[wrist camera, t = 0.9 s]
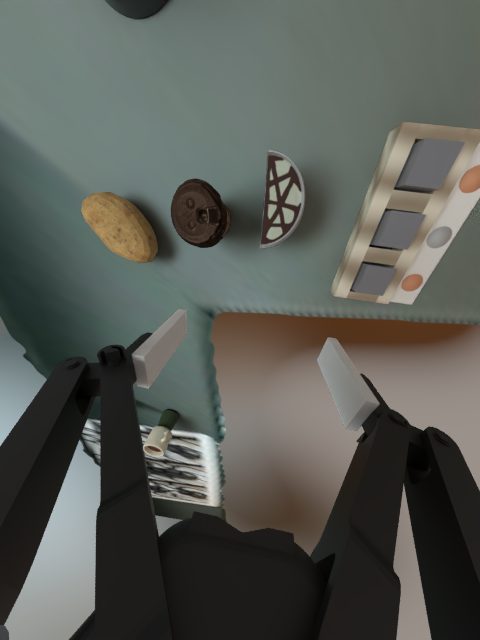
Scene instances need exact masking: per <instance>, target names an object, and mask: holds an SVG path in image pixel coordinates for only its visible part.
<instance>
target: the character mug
mask: <svg viewBox="0 0 480 640" xmlns="http://www.w3.org/2000/svg"><path fill="white" fill-rule="evenodd" d="M178 418H179V415H178V414H177V413H175V412H173V411H170V410H165V411H163V414H162V416H161V418H160V421H159V424H158V426H155V427H154V428H153V430H152V431H151V433H150V435H149V437H148V439H147V440H146V442H145V444H144V446H143V449H144V452H145V453H147V454H149V455H151V456H155V457H161V456H163V455H164V453H165V451H166V448H167V446H168V443H169V441H170V439H171V437H172V433H171V430H172V429H173V427H174V425H175V424H176V422H177V420H178Z"/></svg>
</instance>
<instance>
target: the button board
mask: <svg viewBox="0 0 480 640" xmlns="http://www.w3.org/2000/svg"><path fill="white" fill-rule="evenodd" d="M424 138H433V139H442V140H452V141H461V142H465V143H464V145H463V147H462V149H461V151H460V153H459V155H458V156H457V158H456V160H455V162H454V164H453V166H452V168H451V170H450V171H449V173H448V175H447V177H446V179H445V181H444V183H443V184H442V186H441V188H440V189H438V190H434V191H429V192H425V193H416V192H408V191H400V190H394V187H395V185H396V183H397V180H398V178H399V176H400V174H401V171H402V169H403V167H404V164H405V162H406V160H407V157H408V155H409V153H410V150H411V148H412V146H413V144H415V143H417V142H419V141H421V140H422V139H424ZM479 142H480V130H478V129H469V128H459V127H449V126H440V125H430V124H421V123H411V122H403V123H401V124H400V125H399V126H397V127H396V128H395V129H393V130H392V131H391V132H390V133H389V136H388V138H387V141H386V144H385V146H384V149H383V152H382V154H381V157H380V160H379V162H378V165H377V168H376V170H375V173H374V175H373V178H372V181H371V183H370V186H369V189H368V191H367V194H366V197H365V199H364V202H363V205H362V207H361V210H360V212H359V215H358V218H357V220H356V223H355V226H354V228H353V231H352V234H351V236H350V239H349V242H348V244H347V247H346V249H345V252H344V255H343V257H342V260H341V263H340V265H339V268H338V271H337V273H336V276H335V279H334V281H333V284H332V286H331V289H330V293H331V294H333V295H334V296H336V297H343V298H350V299H356V300H363V301H370V302H376V303H383V304H388V303H389V302H390V300H391V298H392V296H393V294H394V293H395V291H396V289H397V287H398V286H399V284H400V282H401V280H402V279H403V277H404V275H405V273H406V271H407V270H408V268H409V266H410V264H411V263H412V261H413V259H414V257H415V256H416V254H417V252H418V250H419V248H420V247H421V245H422V243H423V241H424V240H425V238H426V236H427V234H428V233H429V231H430V229H431V227H432V225H433V224H434V222H435V220H436V218H437V217H438V215H439V213H440V211H441V210H442V208H443V206H444V204H445V202H446V201H447V199H448V197H449V195H450V194H451V192H452V190H453V188H454V187H455V185H456V183H457V181H458V179H459V178H460V176H461V174H462V172H463V171H464V169H465V167H466V165H467V164H468V162H469V160H470V158H471V156H472V155H473V153H474V151H475V149H476V148H477V146H478V144H479ZM392 210H393V211H401V212H409V213H417V214H424V215H426V216H425V218H424V220H423V222H422V224H421V225H420V227H419V229H418V231H417V233H416V235H415V237H414V239H413V240H412V242H411V244H410V246H409V248H408V250H406V249H399V248H392V250H390V249H383V248H376V247H369V245H370V243H371V240H372V238H373V236H374V233H375V231H376V229H377V226H378V224H379V222H380V220H381V217H382V215H383V213H384V211H392ZM362 261H366V262H373V263H380V264H384V266H389V267H392V268H395V269H397V270H396V272H395V274H394V276H393V278H392V280H391V281H390V283H389V285H388V287H387V289H386V291H385V293H384V294H383V296H379V295H373V294H366V293H359V292H355V291H353V290H352V289H351V286H352V284H353V282H354V279H355V277H356V275H357V273H358V270H359V268H360V266H361V263H362Z"/></svg>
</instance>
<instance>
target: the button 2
mask: <svg viewBox="0 0 480 640" xmlns="http://www.w3.org/2000/svg"><path fill="white" fill-rule="evenodd" d="M464 143H465V142H461V141H452V140H442V139H433V138H424V139H422V140H421V141H419V142H417V143H415V144H413V146H412V148H411V150H410V153H409V155H408V157H407V160H406V162H405V164H404V167H403V169H402V171H401V174H400V176H399V178H398V180H397V183H396V185H395V187H394V190H402V191H410V192H419V193H425V192H429V191H434V190H438V189H440V188H441V186H442V184H443V183H444V181H445V179H446V177H447V175H448V173H449V171H450V170H451V168H452V166H453V164H454V162H455V160H456V158H457V156H458V155H459V153H460V151H461V149H462V147H463V145H464Z"/></svg>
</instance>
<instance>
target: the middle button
mask: <svg viewBox="0 0 480 640" xmlns="http://www.w3.org/2000/svg"><path fill="white" fill-rule="evenodd" d="M425 216H426V215H424V214H417V213H409V212H401V211H393V210H392V211H385V212H384V213H383V215H382V217H381V220H380V222H379V224H378V226H377V229H376V231H375V233H374V236H373V238H372V240H371V243H370V245H377V246H384V247H391V248H399V249H406V250H408V248H409V246H410V244H411V242H412V240H413V239H414V237H415V235H416V233H417V231H418V229H419V227H420V225H421V224H422V222H423V220H424V218H425Z"/></svg>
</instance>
